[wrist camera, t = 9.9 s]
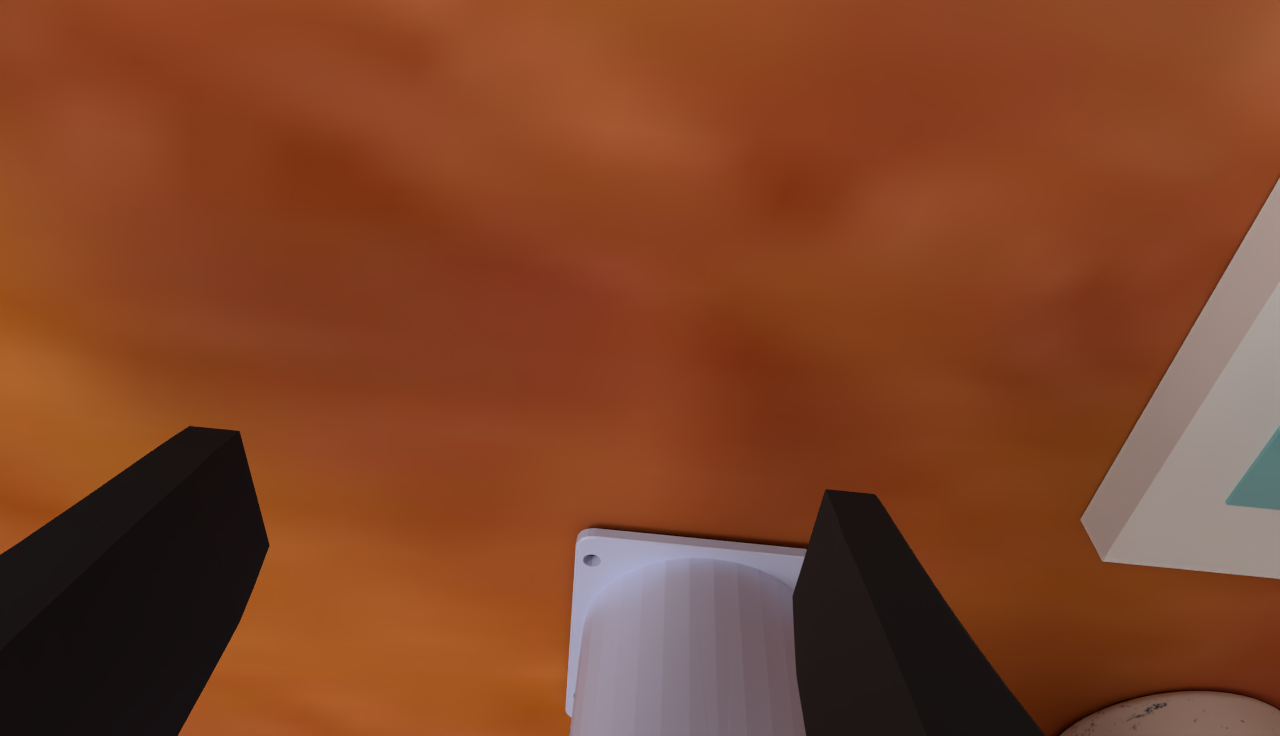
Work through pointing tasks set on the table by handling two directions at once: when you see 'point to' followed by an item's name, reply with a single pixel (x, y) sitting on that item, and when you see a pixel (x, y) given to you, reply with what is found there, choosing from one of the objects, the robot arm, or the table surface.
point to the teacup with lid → (1182, 716)
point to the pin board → (1208, 435)
